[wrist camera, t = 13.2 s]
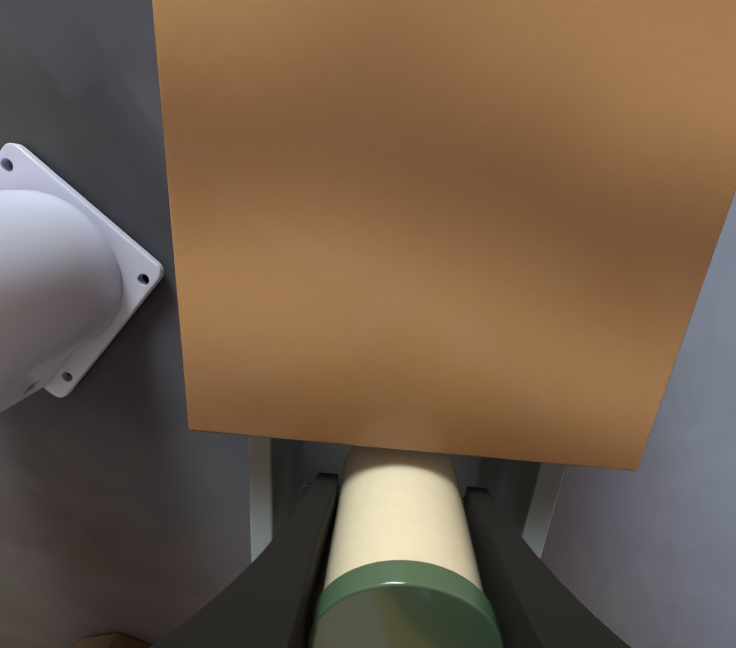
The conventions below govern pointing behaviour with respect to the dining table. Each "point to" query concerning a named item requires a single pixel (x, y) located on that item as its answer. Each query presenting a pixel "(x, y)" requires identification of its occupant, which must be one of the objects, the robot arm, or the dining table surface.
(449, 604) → the jar
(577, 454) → the wooden drawer box
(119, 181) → the dining table surface
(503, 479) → the green drawer
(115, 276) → the robot arm
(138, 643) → the beer bottle
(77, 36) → the dining table surface
